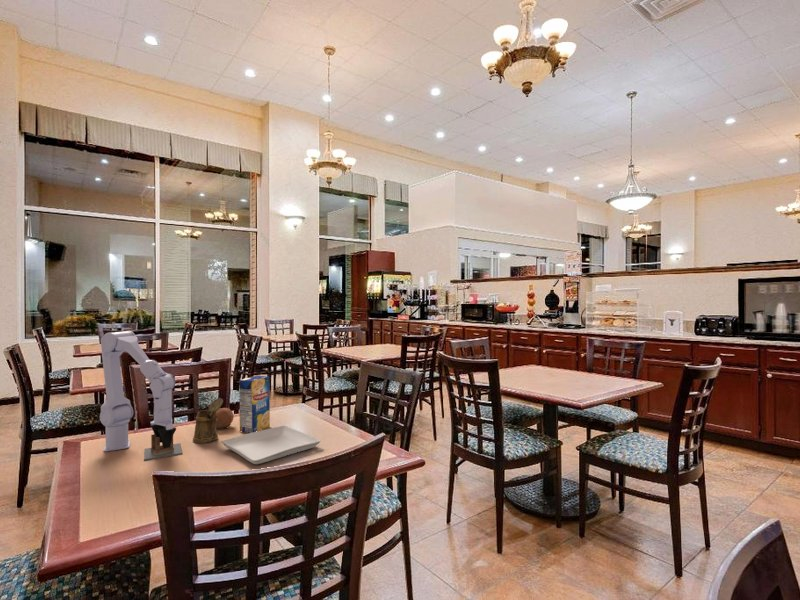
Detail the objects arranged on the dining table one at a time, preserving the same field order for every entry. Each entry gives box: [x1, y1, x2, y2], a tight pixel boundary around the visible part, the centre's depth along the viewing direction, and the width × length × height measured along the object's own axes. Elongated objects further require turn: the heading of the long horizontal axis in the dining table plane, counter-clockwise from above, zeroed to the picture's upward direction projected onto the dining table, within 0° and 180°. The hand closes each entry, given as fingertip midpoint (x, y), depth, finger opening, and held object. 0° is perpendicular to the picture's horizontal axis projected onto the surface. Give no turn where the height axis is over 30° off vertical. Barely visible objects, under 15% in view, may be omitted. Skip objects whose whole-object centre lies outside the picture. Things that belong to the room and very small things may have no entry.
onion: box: [216, 407, 234, 430], centre depth 187 cm, size 10×9×10 cm
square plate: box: [220, 425, 322, 465], centre depth 161 cm, size 27×27×4 cm
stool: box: [150, 433, 174, 455], centre depth 158 cm, size 6×6×6 cm
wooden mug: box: [192, 397, 224, 444], centre depth 170 cm, size 9×14×18 cm, turn 60°
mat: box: [143, 442, 184, 461], centre depth 158 cm, size 12×12×1 cm
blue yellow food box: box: [238, 375, 271, 434], centre depth 185 cm, size 7×11×22 cm, turn 157°
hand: (163, 445), depth 158 cm, fingers open, 7 cm apart
